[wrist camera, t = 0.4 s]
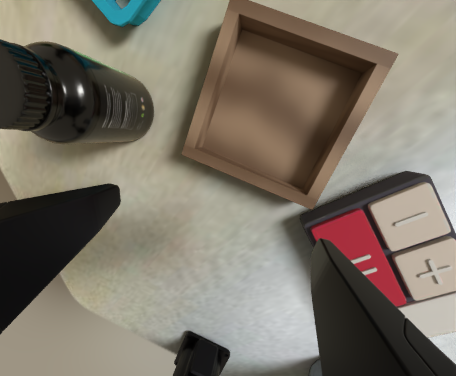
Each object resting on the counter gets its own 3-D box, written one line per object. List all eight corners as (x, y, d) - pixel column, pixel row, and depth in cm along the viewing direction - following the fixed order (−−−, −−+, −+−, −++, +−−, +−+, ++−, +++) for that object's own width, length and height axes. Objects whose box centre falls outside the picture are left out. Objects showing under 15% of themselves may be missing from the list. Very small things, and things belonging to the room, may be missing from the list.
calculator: (436, 173, 16) (506, 331, 18) (403, 167, 20) (461, 295, 22) (302, 227, 19) (370, 359, 20) (297, 213, 23) (353, 323, 25)
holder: (305, 199, 22) (312, 209, 19) (193, 151, 23) (181, 154, 20) (375, 68, 18) (398, 53, 15) (237, 17, 19) (231, -6, 16)
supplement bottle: (127, 60, 22) (-30, -25, 10) (168, 114, 22) (65, 92, 11) (88, 104, 24) (-81, 75, 12) (127, 153, 24) (2, 169, 13)
